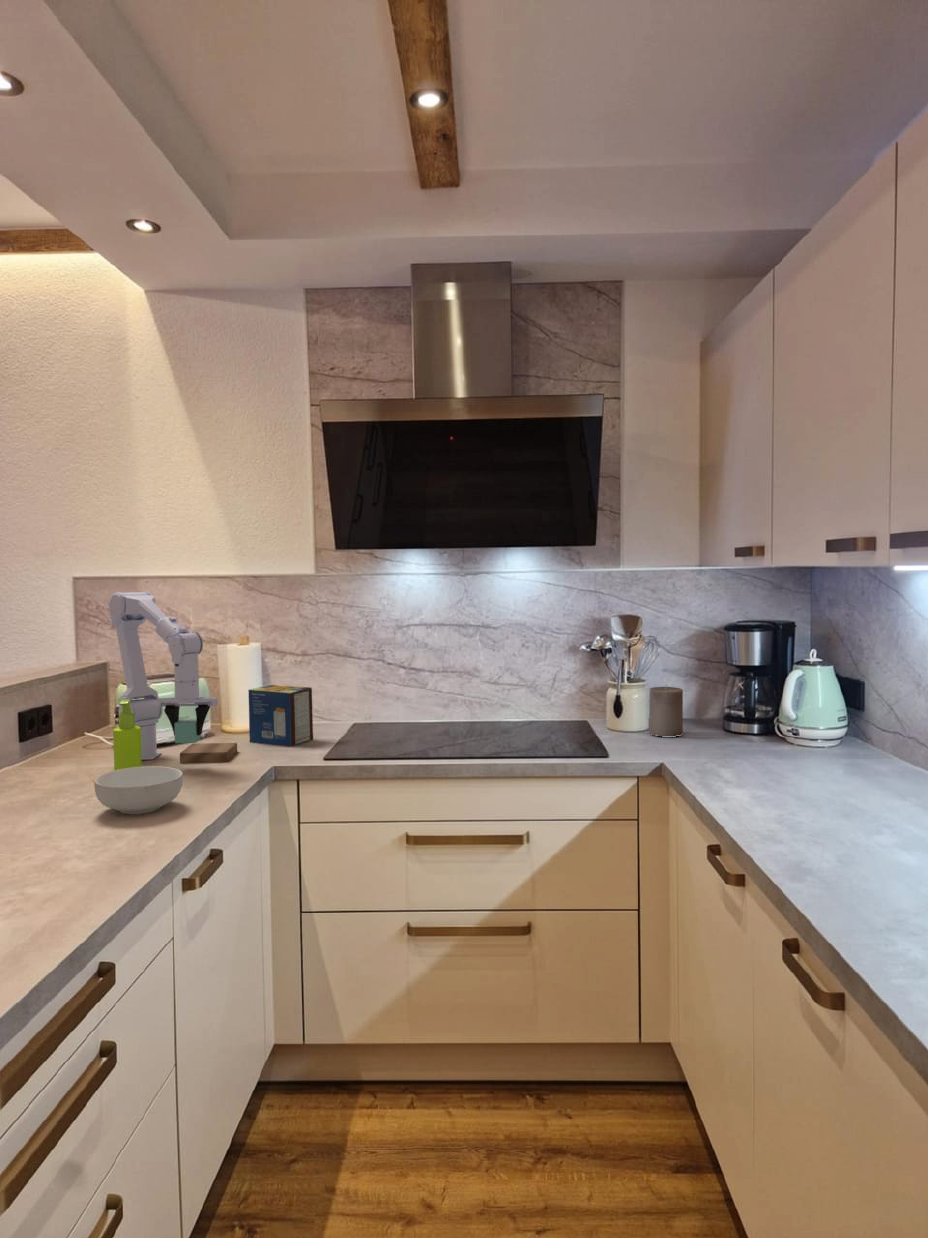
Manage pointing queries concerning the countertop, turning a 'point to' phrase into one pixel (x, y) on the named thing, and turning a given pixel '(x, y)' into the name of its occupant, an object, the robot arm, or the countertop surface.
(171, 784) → the cereal bowl
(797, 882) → the countertop surface
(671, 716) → the pillar candle
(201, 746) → the walnut base
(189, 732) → the teal cube
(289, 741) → the protein box
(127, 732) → the soap dispenser
